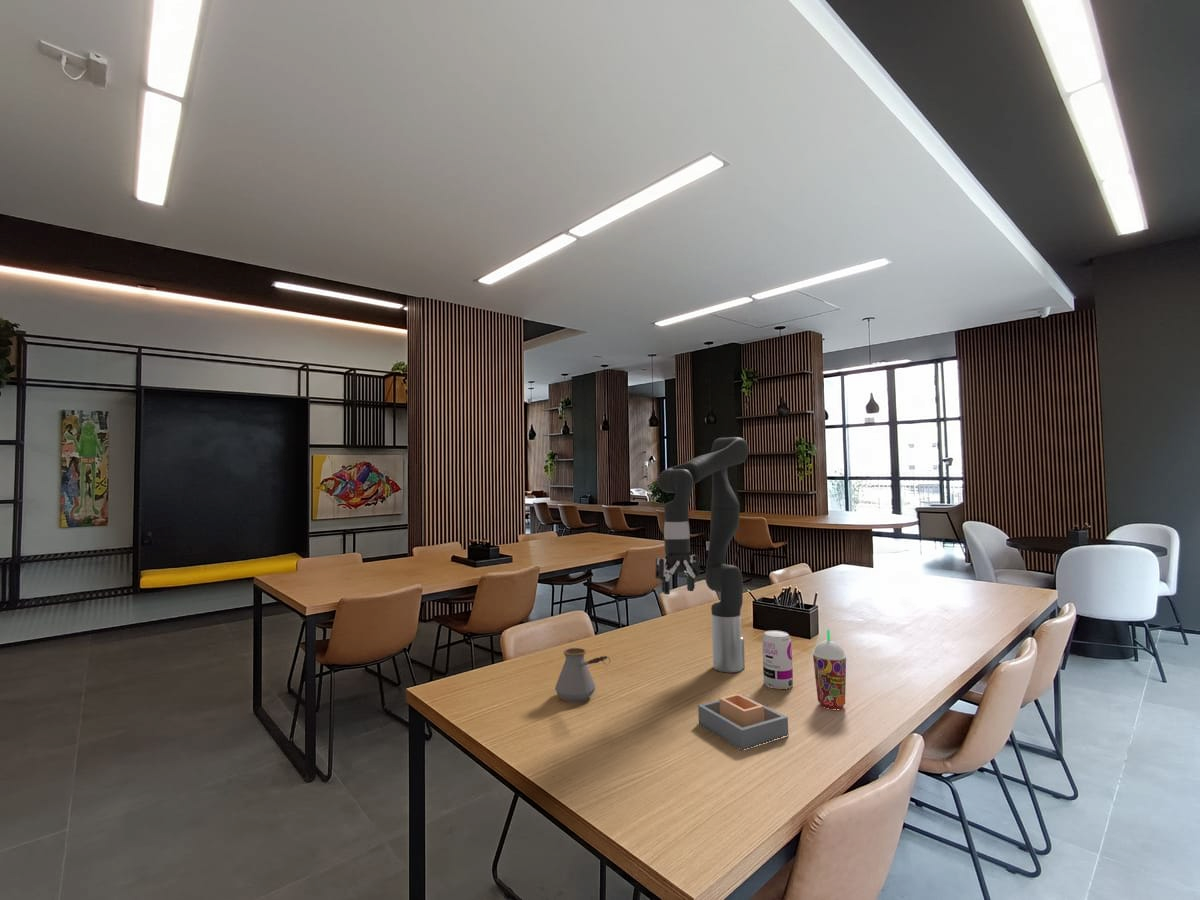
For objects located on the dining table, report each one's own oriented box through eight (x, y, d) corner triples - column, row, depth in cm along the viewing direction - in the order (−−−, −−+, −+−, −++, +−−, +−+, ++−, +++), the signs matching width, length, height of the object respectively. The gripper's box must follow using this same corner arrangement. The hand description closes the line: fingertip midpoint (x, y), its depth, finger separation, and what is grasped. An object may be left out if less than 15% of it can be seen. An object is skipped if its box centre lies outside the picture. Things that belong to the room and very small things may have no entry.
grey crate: (741, 712, 142) (741, 694, 143) (788, 736, 128) (787, 717, 128) (698, 723, 136) (698, 705, 136) (742, 751, 122) (742, 730, 122)
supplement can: (794, 682, 162) (792, 631, 163) (791, 692, 155) (789, 638, 156) (766, 678, 166) (764, 628, 167) (762, 688, 158) (760, 635, 159)
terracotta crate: (739, 717, 138) (738, 693, 138) (764, 732, 130) (763, 706, 130) (720, 723, 135) (719, 698, 135) (745, 737, 127) (744, 711, 127)
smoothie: (834, 715, 139) (830, 635, 140) (807, 704, 147) (804, 628, 148) (855, 708, 143) (852, 631, 144) (829, 697, 150) (826, 624, 152)
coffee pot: (547, 696, 156) (547, 642, 157) (580, 686, 162) (580, 635, 163) (590, 721, 138) (589, 661, 139) (625, 709, 145) (624, 652, 146)
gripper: (689, 534, 167) (690, 587, 166) (649, 537, 161) (651, 592, 160) (704, 536, 161) (706, 592, 160) (663, 539, 154) (665, 597, 153)
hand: (678, 592), depth 160 cm, fingers open, 8 cm apart
